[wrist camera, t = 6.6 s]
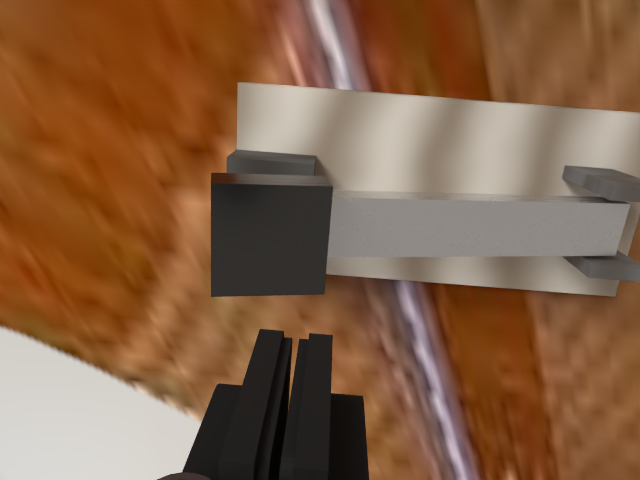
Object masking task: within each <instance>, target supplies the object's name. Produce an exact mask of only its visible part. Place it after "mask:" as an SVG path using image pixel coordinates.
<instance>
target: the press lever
mask: <svg viewBox="0 0 640 480" xmlns="http://www.w3.org/2000/svg"><path fill="white" fill-rule="evenodd" d="M630 205H631V204H629V203H626V202H624V201H614V200H609V199H606V198H604V197H597V196H556V195H516V194H475V193H435V192H394V191H354V190H333V186H332V185H331V183H330V182H329V181H328V180H327V179H326V178H325V177H324V176H303V175H271V174H238V173H211V297H223V296H269V295H315V294H324V291H325V279H326V267H327V257H490V256H615V255H616V252H617V249H618V245H619V242H620V238H621V235H622V232H623V228H624V225H625V222H626V218H627V215H628V211H629V208H630Z"/></svg>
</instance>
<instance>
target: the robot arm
mask: <svg viewBox="0 0 640 480" xmlns="http://www.w3.org/2000/svg"><path fill="white" fill-rule="evenodd" d="M332 339H333V335H324V334H312V333H309V339H299V345H298V352H297V358H296V365H295V371H294V378H293V384H292V391H291V397H290V404H289V410H288V403H289V387H290V371H291V354H292V338H285V337H284V331H277V330H265V329H260V331H259V334H258V337H257V340H256V343H255V346H254V350H253V353H252V356H251V359H250V362H249V366H248V369H247V372H246V375H245V378H244V382H243V385H242V386H241V385H230V384H218V385H217V386H216V388H215V390H214V393H213V395H212V398H211V400H210V403H209V406H208V408H207V411H206V413H205V416H204V418H203V421H202V423H201V426H200V428H199V431H198V434H197V436H196V439H195V441H194V444H193V446H192V449H191V451H190V454H189V456H188V459H187V461H186V464H185V467H184V469H183V472H182V473H176V474H170V475H167V476H165V477H162V478H160V479H157V480H369V471H368V457H367V443H366V428H365V414H364V401H363V396H357V395H345V394H334V393H331V372H332Z"/></svg>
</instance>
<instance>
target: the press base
mask: <svg viewBox="0 0 640 480" xmlns="http://www.w3.org/2000/svg"><path fill="white" fill-rule="evenodd" d="M227 173H238V174H271V175H303V176H324V177H325V178H326V179H327V180H328V181H329V182H330V183H331V185H332V186H333V190H354V191H394V192H435V193H475V194H516V195H556V196H597V197H604V198H606V199H609V200H614V201H624V202H626V203H629V204H631V205H630V208H629V211H628V215H627V218H626V222H625V225H624V228H623V232H622V235H621V238H620V242H619V245H618V249H617V252H616V255H615V256H490V257H327V267H326V274H330V275H343V276H356V277H369V278H382V279H395V280H407V281H420V282H433V283H446V284H459V285H472V286H485V287H497V288H510V289H523V290H536V291H549V292H562V293H575V294H587V295H600V296H613V297H615V295H616V292H617V288H618V285H619V282H620V280H623V281H636V282H640V264H639V263H637V262H636V261H634V260H633V259H631V258H629V257H628V252H629V249H630V246H631V242H632V239H633V236H634V233H635V229H636V226H637V223H638V219H639V216H640V113H638V112H625V111H612V110H599V109H586V108H573V107H560V106H547V105H535V104H522V103H509V102H496V101H483V100H470V99H457V98H444V97H431V96H418V95H405V94H392V93H379V92H367V91H354V90H341V89H328V88H315V87H302V86H289V85H276V84H263V83H250V82H239V83H238V104H237V150H235V151H234V152H233V153H232V154H230V155H229V156H228V157H227Z"/></svg>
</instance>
